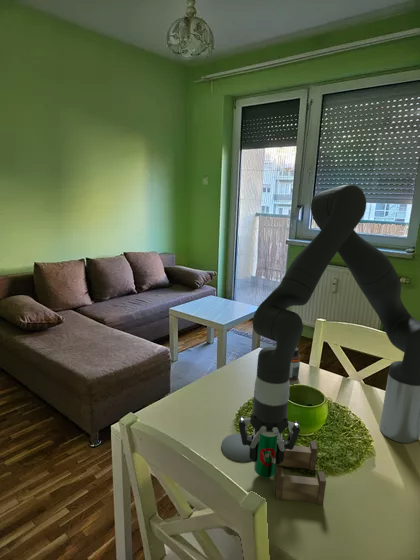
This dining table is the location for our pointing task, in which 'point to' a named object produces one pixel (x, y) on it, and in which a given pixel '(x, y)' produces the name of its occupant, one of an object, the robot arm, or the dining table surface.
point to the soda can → (266, 454)
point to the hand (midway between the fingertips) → (265, 460)
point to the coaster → (235, 448)
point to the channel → (298, 485)
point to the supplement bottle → (295, 365)
